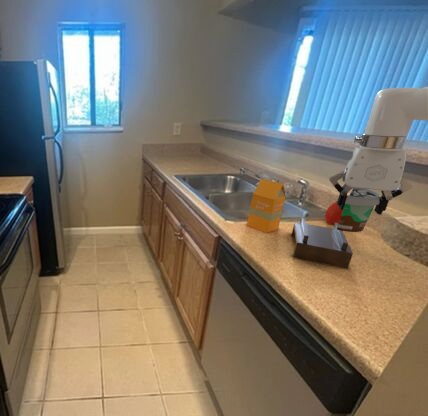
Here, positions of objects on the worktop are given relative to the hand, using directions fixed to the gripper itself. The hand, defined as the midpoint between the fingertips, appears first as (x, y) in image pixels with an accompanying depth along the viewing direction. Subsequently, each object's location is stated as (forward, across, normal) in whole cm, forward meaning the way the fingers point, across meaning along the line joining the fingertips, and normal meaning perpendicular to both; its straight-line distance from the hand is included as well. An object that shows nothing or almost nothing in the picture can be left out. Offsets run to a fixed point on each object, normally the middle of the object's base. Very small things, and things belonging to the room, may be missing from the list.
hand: (358, 209), depth 73 cm
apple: (+22, +6, +47) cm, 52 cm away
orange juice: (+22, -20, +28) cm, 41 cm away
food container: (+5, 0, 0) cm, 5 cm away
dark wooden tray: (+22, -3, +16) cm, 27 cm away
